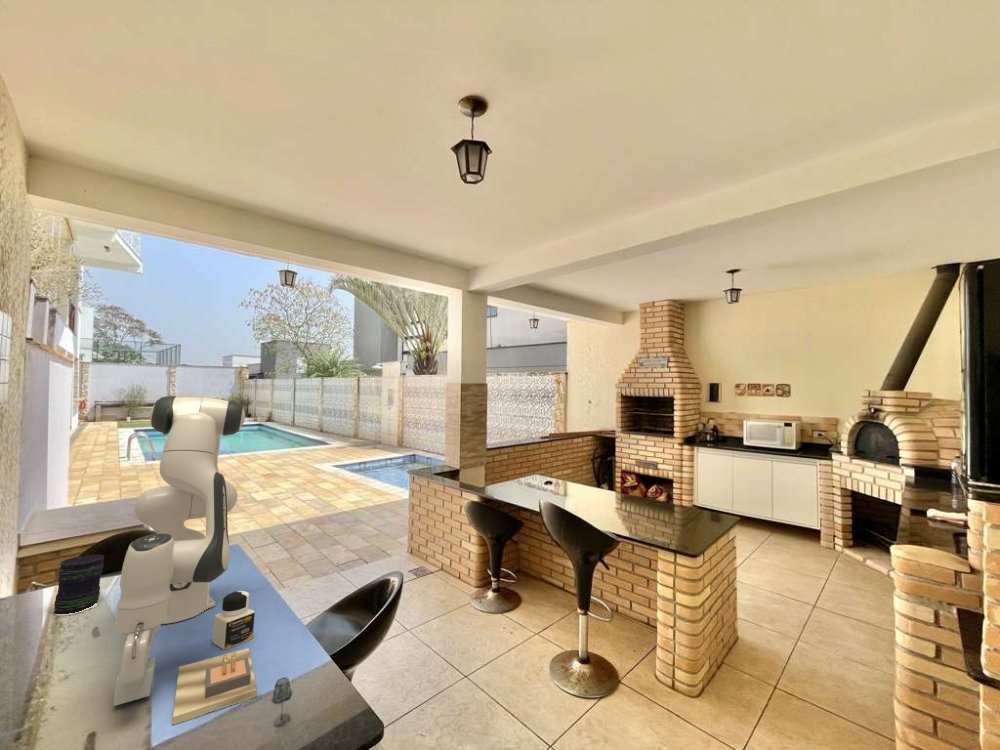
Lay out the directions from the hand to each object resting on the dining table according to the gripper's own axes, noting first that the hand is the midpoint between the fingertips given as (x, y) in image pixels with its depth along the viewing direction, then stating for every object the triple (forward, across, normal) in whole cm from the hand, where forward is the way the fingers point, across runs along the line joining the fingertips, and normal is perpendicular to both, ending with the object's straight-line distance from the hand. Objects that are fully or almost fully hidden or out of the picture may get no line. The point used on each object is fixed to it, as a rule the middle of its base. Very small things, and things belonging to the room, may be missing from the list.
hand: (135, 683), depth 85 cm
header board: (+3, -4, -14) cm, 15 cm away
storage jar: (+4, +66, +21) cm, 69 cm away
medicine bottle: (+4, +16, -18) cm, 24 cm away
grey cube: (+2, 0, 0) cm, 2 cm away
